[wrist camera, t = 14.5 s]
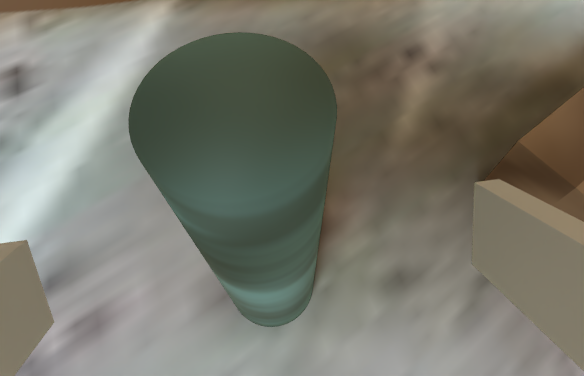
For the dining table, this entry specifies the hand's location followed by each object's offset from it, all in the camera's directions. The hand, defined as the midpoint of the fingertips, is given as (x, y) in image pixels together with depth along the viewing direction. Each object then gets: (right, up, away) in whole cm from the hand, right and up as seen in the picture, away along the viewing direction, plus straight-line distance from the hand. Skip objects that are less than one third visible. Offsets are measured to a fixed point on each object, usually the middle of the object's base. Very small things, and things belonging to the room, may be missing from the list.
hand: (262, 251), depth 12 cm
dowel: (0, -3, +8) cm, 9 cm away
